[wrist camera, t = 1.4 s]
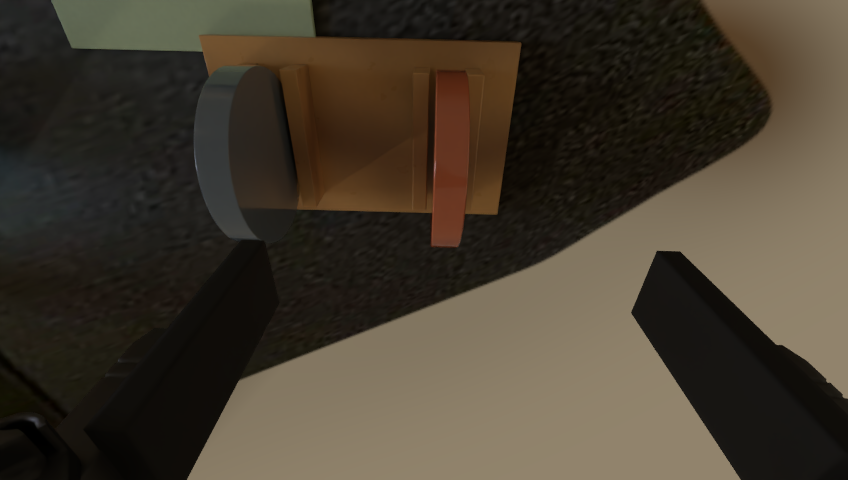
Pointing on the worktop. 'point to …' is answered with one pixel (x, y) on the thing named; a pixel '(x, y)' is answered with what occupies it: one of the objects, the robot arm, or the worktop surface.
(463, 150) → the terracotta coaster
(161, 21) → the sage mat
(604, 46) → the worktop surface
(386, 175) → the coaster rack
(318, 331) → the worktop surface
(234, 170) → the slate coaster
